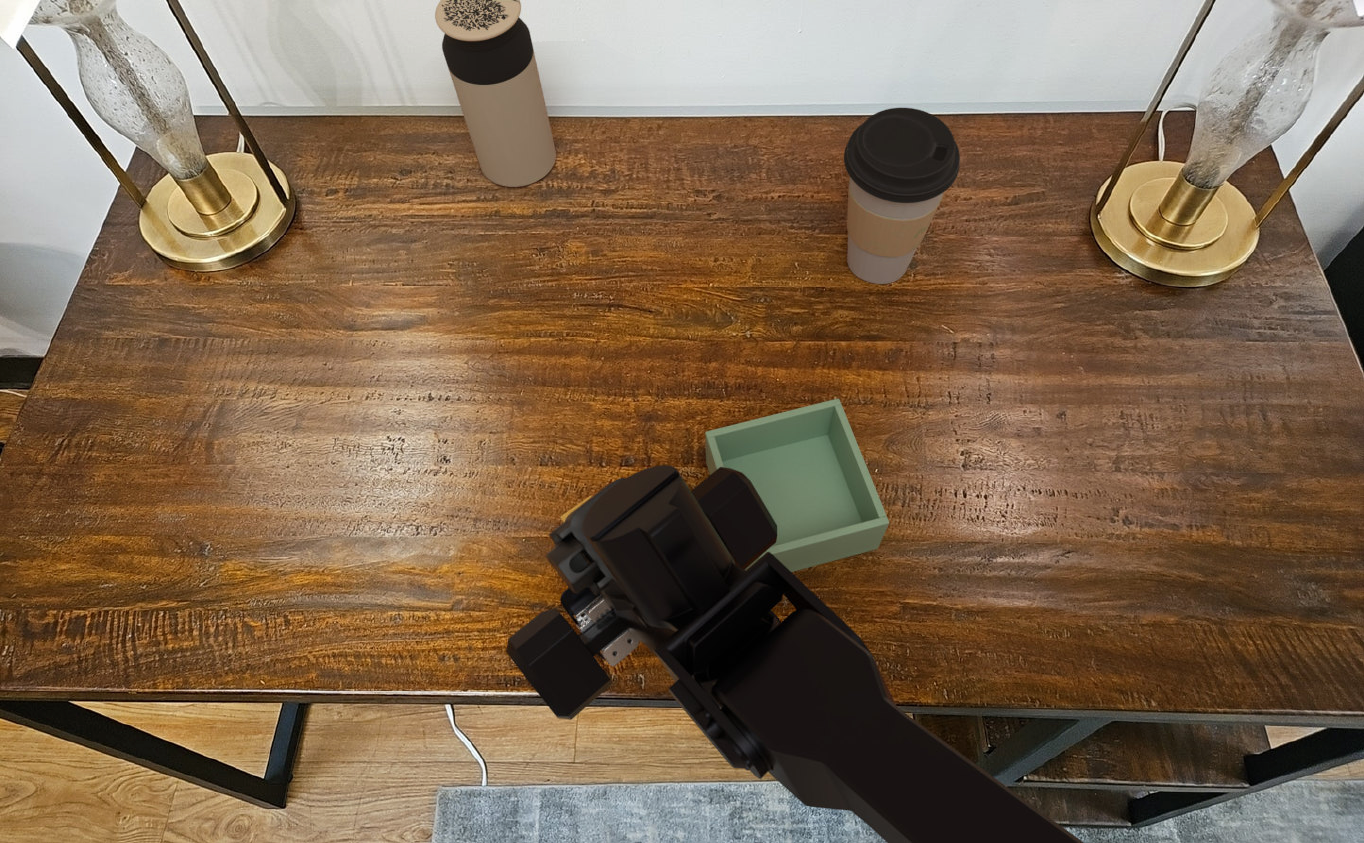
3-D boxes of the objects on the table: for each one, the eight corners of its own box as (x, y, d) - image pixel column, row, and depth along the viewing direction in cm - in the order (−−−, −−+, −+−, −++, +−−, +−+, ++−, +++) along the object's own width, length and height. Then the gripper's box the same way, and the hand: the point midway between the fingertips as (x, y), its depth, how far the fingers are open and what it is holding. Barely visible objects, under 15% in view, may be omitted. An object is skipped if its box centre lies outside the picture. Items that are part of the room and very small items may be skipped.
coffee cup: (935, 296, 83) (976, 181, 69) (833, 302, 83) (855, 188, 70) (917, 219, 87) (953, 97, 74) (821, 224, 87) (839, 103, 74)
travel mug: (518, 201, 90) (476, 52, 74) (464, 165, 93) (412, 14, 77) (572, 155, 93) (542, 2, 77) (518, 122, 95) (478, -33, 80)
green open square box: (877, 549, 71) (889, 522, 66) (743, 585, 70) (745, 561, 65) (831, 430, 76) (838, 397, 71) (705, 462, 75) (704, 431, 70)
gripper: (755, 417, 51) (645, 391, 65) (487, 632, 45) (430, 553, 59) (838, 562, 55) (717, 508, 68) (601, 776, 49) (522, 670, 63)
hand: (602, 555), depth 65 cm, fingers closed on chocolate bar, 3 cm apart
